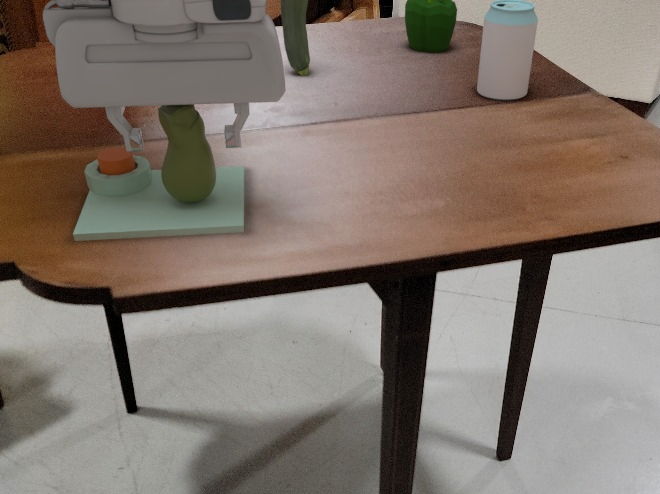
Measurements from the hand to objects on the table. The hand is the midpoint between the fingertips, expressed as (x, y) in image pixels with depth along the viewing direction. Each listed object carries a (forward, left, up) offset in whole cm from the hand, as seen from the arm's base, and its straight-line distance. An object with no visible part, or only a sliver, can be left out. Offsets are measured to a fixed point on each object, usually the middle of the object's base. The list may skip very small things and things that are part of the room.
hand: (184, 147), depth 71 cm
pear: (0, 0, -6) cm, 6 cm away
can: (+41, +31, -7) cm, 52 cm away
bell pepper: (+35, +54, -7) cm, 65 cm away
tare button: (-8, +5, -4) cm, 10 cm away
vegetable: (+13, +43, -7) cm, 45 cm away
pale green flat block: (-3, +1, -7) cm, 7 cm away
